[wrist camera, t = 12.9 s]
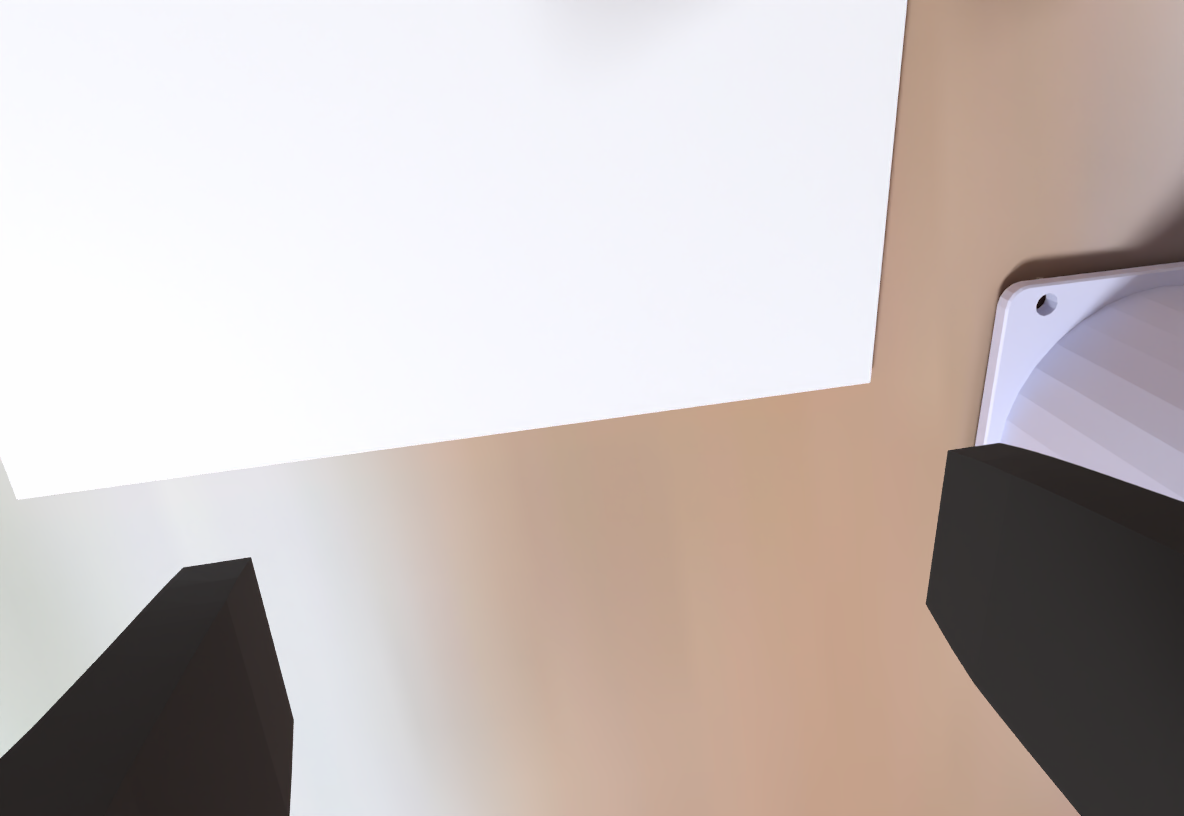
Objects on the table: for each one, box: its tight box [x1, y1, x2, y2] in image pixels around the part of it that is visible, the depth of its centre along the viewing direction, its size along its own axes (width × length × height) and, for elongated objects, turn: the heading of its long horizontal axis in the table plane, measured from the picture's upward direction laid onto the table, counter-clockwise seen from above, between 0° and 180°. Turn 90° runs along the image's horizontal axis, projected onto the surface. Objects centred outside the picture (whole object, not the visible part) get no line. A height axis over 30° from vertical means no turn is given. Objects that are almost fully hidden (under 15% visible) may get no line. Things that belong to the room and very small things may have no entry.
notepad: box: [0, 0, 907, 500], centre depth 16 cm, size 18×12×1 cm, turn 93°
